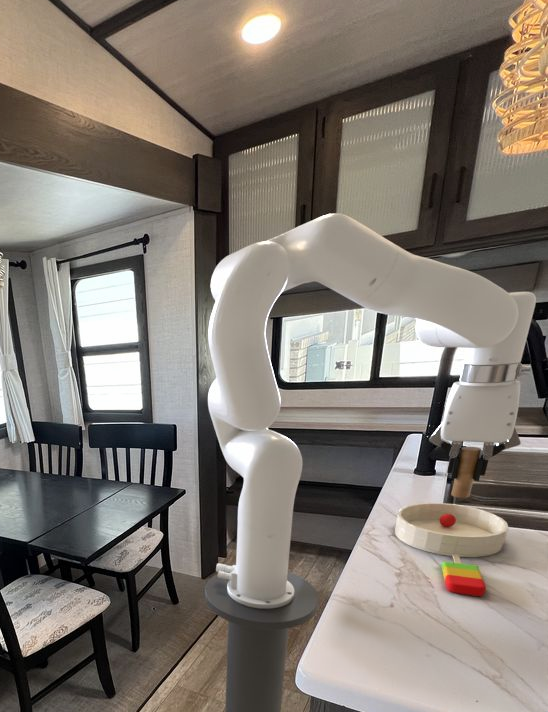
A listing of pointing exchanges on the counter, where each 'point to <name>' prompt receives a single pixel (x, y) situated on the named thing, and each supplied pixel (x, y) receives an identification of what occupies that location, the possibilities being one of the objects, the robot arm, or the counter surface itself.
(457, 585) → the popsicle
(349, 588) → the counter surface
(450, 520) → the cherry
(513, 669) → the counter surface
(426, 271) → the robot arm
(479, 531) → the bowl
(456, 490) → the brown cylinder
